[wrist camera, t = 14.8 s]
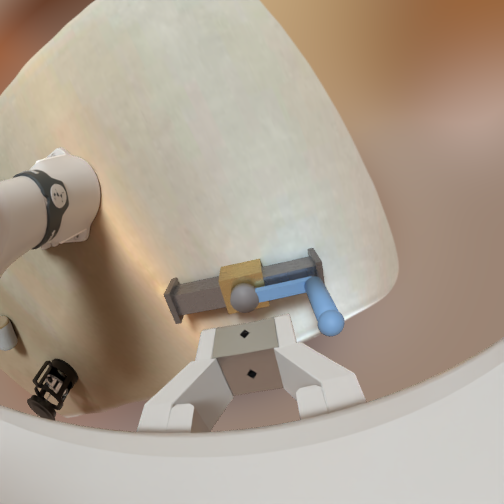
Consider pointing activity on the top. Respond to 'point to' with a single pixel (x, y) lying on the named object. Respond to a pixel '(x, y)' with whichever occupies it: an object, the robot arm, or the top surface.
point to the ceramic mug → (7, 334)
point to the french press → (52, 388)
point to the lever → (319, 297)
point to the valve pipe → (219, 288)
